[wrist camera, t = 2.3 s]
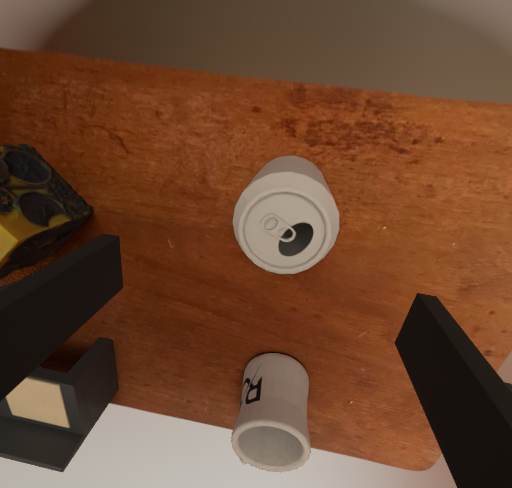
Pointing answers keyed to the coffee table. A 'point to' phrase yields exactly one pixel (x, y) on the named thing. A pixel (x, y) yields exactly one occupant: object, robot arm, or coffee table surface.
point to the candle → (33, 209)
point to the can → (286, 216)
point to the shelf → (57, 409)
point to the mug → (273, 414)
